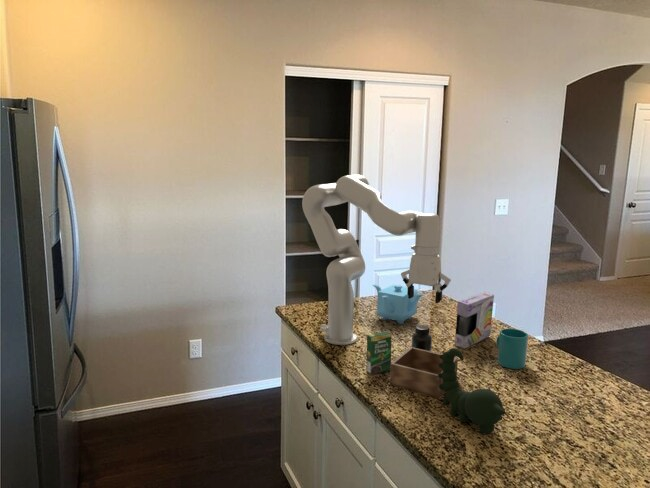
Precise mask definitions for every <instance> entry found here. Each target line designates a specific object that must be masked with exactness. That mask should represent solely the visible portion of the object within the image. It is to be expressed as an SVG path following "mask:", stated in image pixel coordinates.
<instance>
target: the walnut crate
mask: <svg viewBox="0 0 650 488" xmlns="http://www.w3.org/2000/svg"><path fill="white" fill-rule="evenodd" d="M440 355H443V353H438V352H435V351H432V350H431V351H426V350H422V349H418V348H414V347H411V346H410V347H408V349H406V350H405V351H404V352H403V353H401V355H399V356H398V357H396V359H394V360H393V361H391V364H390V371H389V385H390V386H393V387H395V388H396V387H397V388H399V389H403V390H406V391H407V390H408V391H411V392H413V393H417V394H420V395H424V396H428V397H432V398H435V399H441V397H442V396H443V395H444V394H446V392H445V391H444V390H441V389H439V385H440V384H442V383H443V379H442V378H439V377H438V374H439V373H442V372H443V370H442V368H440V367H439V363H442V362H443V361H442V359H440ZM458 359H459V357H457V356H456V357H454V363H455V366H456V367H455V370H454V371H455V372H456V374H458V364H459V363H458V361H459V360H458Z"/></svg>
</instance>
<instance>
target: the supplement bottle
mask: <svg viewBox="0 0 650 488" xmlns="http://www.w3.org/2000/svg"><path fill="white" fill-rule="evenodd" d="M432 343H433V338H432V335H431V334H430V327H429V326H428V325H425V324H422V325H421V324H418V325H415V328H414V333H413V334H412V336H411V346H410V347H414V348H418V349H422V350H426V351H431V352H432Z"/></svg>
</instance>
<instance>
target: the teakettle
mask: <svg viewBox="0 0 650 488" xmlns="http://www.w3.org/2000/svg"><path fill="white" fill-rule="evenodd" d="M372 287H373V288H375V290H376V292H377V302H376V303H377V305H376V306H377V307H376V317H379V318H381V320H382V321H389V320H393V321H396V323H397V324H399V325H403V324H405V322H404V321H406V320H412V319H413V318H412V317H413V316H414V315H416V314H417V312H418V304H419V301H420V299H421V297H423V296H425V295H426V294H424V293H419V289H418V288H414V297H412V298H410V299H409V298H408V295H407V291H408V287H407V286H403V285H402V284H392V285H389V286H387V287H384V288H383V289H382V288H381V287H380V286H379V285H377V284H372Z"/></svg>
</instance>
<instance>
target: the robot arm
mask: <svg viewBox="0 0 650 488" xmlns="http://www.w3.org/2000/svg"><path fill="white" fill-rule="evenodd" d="M347 202H348V203H350V204H352V205H353V206H355V207H357V208H358V209H360V210H361V211H363V212H364V213H366V214H367V216H368V218H369V219H370V220H371V221H372V223H373V224H375V225H376V226H377V227H378V228H381V229H382V230H384V231H386V232H387V233H390V234H391V235H394V236H396V237H397V236H398V237H400V236H401V237H402V236H404V235H408V234H412V233H415V238H414V239H415V242H414V245H411V247H410V248H411V250H413V253H411V257H410V263H409V269H407V270H404V271H402V272H401V273H400V275H401V279H402V281H403V283H404V284H405V285H406V286H405V287H408V291H407V295H408V298H409V299H410V298H412V297H414V289H415V286H414V284H415V285H421V286H427V287H434V288H435V289H436V292H435V299H434V300H435V304H439V303H440V302H442V299H443V291H444V290H445V289H446V288H447V287H448V286H449V285H450V283H451V282H452V280H451V278H449V277H448V276H447V275H445V274H443V273H442V262H441V256H440V255H439V239H440V238H439V234H440V216H439V215H438V214H436V213H432V212H431V213H430V212H429V213H428V212H425V213H424V212H418V211H415V210H404V211H401V212H397V211H396V210H394V209H392V208H390V207H389V206H388V205H386V204H385V203H383V201H382V194H381V192H380V191H378V190H376V189H375V188H373V187H371V186H370V183H369V181H368V179H367V178H366V177H365V176H364V175H361V174H350V175H349V174H347V175H344V176H341V177H340V178H338V179H337V181H336V182H331V183H321V184H315V185H312V186H310V187H309V188H308V189H307V190H306V191H305V192H304V194H303V197H302V201H301V203H302V204H301V205H302V210H303V211H302V212H303V213H304V216H305V218H306V219H307V222H308V224H309V225H310V228H311V230H312V233H313V236H314V238H315V240H316V244H317V245H318V247H319V250H320V252H321V254H322V255H323V256H324V257H327V258H331V257H336V256H338V258H336V259H334V260H332V261H330V263H329V264H328V266H327V268H326V272H325V273H326V280H327V281H326V282H327V286H328V287H327V288H328V316H327V317H328V324H325V323H322V324H320V329H319V330H320V331H321V332H325V333H324V335H323V340H324V341H325V342H327V343H329V344H332V345H336V346H337V345H339V346H347V345H351V344H354V343H355V342H357V340H358V335H357V334H356V333H354V305H355V304H354V303H355V301H354V299H355V294H354V289H353V285H352V282H353V281H355V280H357V279H359V278H361V277H362V276H363V275H364V274H365V272H366V263H365V260H364V257H363V255H362V252H361V250H360V248H359V245H358V242H357V240H356V238H355V236H354V235H353V234H352V233H351V232H350V231H349V230H347V229H344V228H338V229H337V228H336V226H335V223H334V221H333V219H332V217H331V215H330V214H329V213H328V212H327V210H325V208H327V207H332V206H337V205H338V206H339V205H341V204H345V203H347ZM407 275H408V277H407ZM442 280H443V281H444V283H443V284H441V281H442Z"/></svg>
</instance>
